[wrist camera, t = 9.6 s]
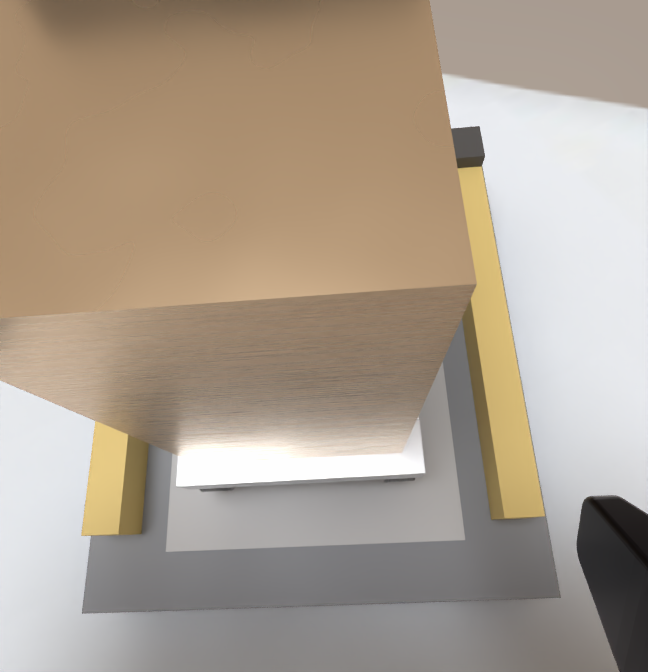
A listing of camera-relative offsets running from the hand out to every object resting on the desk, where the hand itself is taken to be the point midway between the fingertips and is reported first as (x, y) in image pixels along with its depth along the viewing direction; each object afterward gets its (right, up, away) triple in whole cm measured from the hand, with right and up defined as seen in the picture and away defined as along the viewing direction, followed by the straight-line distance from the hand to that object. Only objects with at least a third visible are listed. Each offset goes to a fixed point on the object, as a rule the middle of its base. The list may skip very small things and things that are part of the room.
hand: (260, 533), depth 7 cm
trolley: (0, +1, +9) cm, 9 cm away
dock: (+1, +1, +11) cm, 12 cm away
